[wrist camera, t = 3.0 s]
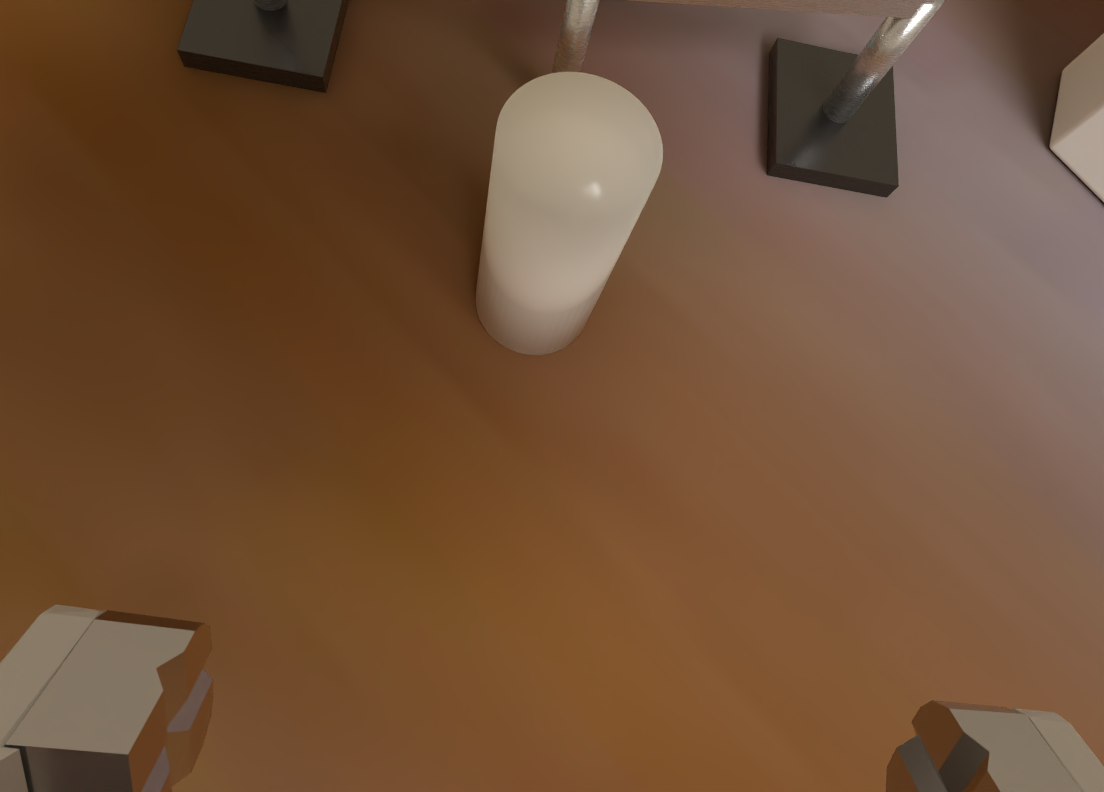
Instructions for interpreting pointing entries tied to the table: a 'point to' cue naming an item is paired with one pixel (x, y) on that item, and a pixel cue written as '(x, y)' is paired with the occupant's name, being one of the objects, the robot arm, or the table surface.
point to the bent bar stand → (794, 68)
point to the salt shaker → (561, 205)
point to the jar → (1082, 117)
